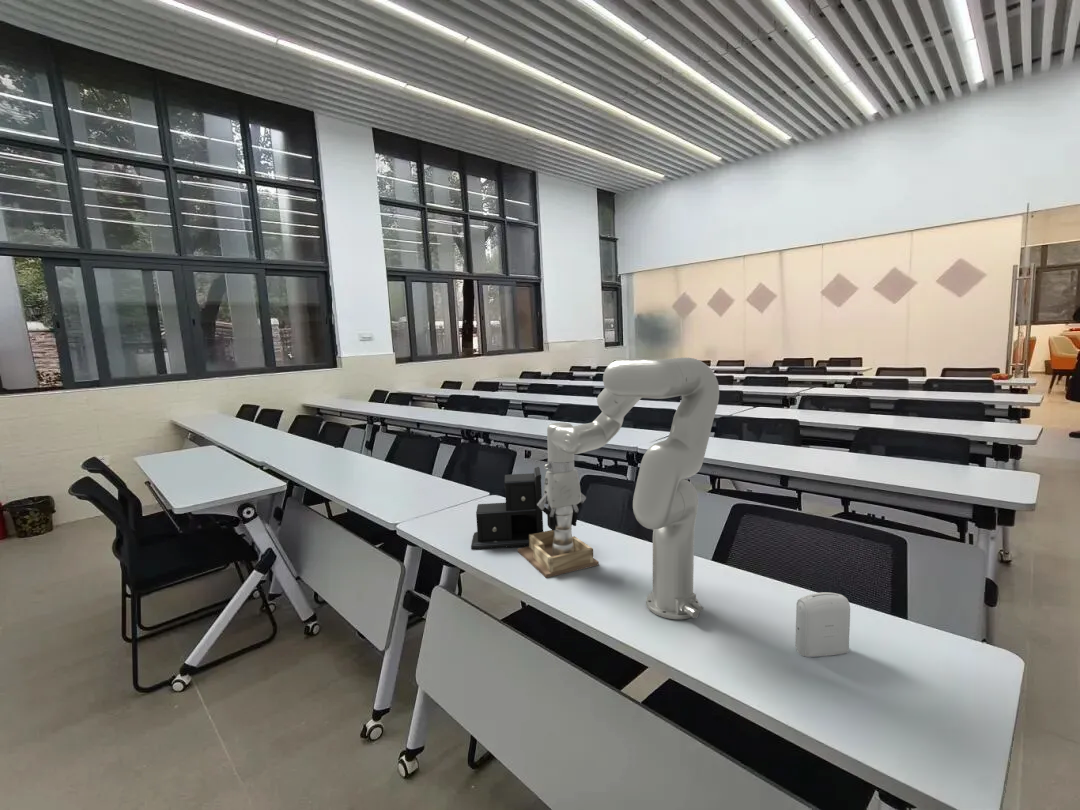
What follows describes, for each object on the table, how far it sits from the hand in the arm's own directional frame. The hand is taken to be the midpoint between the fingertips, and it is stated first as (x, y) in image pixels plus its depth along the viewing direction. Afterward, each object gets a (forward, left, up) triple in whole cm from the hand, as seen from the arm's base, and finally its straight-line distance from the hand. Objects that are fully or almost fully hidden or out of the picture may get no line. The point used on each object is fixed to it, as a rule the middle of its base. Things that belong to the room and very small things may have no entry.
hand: (562, 526), depth 146 cm
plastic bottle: (0, 0, -10) cm, 10 cm away
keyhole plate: (+4, 0, -11) cm, 12 cm away
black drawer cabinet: (+23, +8, -12) cm, 27 cm away
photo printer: (-62, -27, -12) cm, 69 cm away
